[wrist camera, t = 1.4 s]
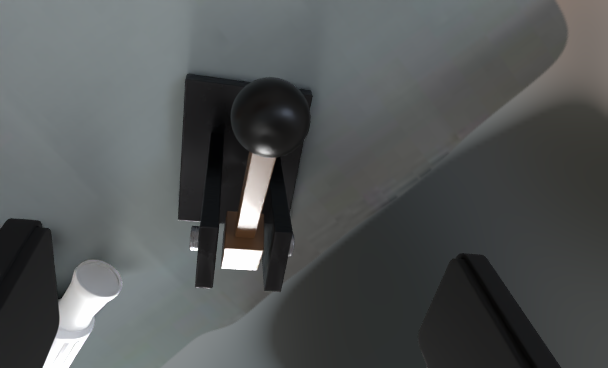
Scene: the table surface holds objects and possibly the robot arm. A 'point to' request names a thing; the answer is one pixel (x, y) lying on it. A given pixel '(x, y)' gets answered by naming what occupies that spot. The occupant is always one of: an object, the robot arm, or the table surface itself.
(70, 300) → the binoculars
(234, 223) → the lever
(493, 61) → the table surface
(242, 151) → the black lever stand
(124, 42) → the table surface
